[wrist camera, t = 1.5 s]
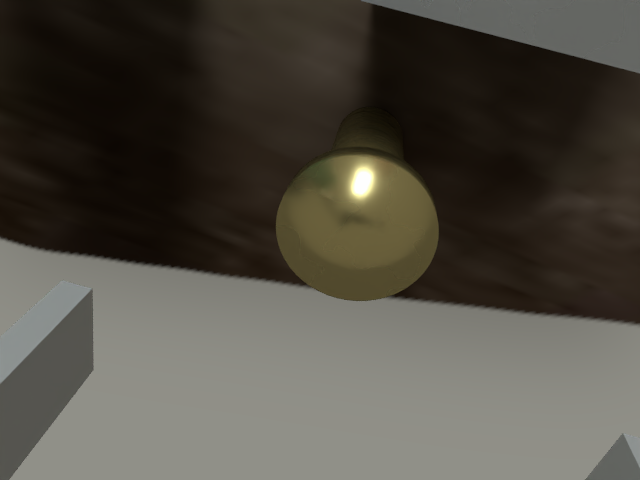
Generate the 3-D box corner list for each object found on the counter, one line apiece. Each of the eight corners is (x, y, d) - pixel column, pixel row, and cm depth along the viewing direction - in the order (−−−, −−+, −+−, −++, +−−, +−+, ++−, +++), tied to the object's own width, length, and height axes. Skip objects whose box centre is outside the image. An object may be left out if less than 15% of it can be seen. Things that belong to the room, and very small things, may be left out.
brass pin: (307, 174, 32) (264, 278, 21) (330, 73, 28) (292, 137, 18) (404, 199, 32) (409, 316, 21) (438, 101, 28) (463, 182, 18)
